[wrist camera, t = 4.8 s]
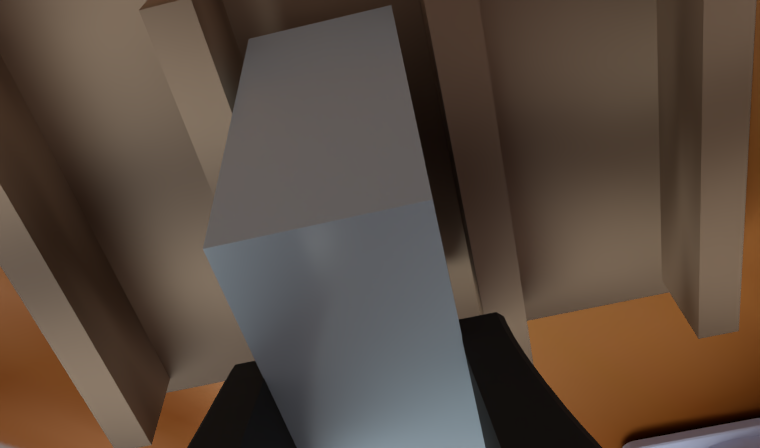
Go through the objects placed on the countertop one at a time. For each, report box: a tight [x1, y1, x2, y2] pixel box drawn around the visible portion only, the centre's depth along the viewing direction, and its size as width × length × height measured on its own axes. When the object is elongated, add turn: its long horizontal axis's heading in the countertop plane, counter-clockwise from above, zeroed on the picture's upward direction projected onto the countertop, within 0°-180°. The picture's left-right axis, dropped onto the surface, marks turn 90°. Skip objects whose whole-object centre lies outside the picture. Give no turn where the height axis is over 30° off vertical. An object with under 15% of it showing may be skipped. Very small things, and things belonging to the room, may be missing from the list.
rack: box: [0, 0, 756, 448], centre depth 18 cm, size 12×18×4 cm, turn 103°
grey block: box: [203, 5, 485, 448], centre depth 14 cm, size 8×3×7 cm, turn 13°
